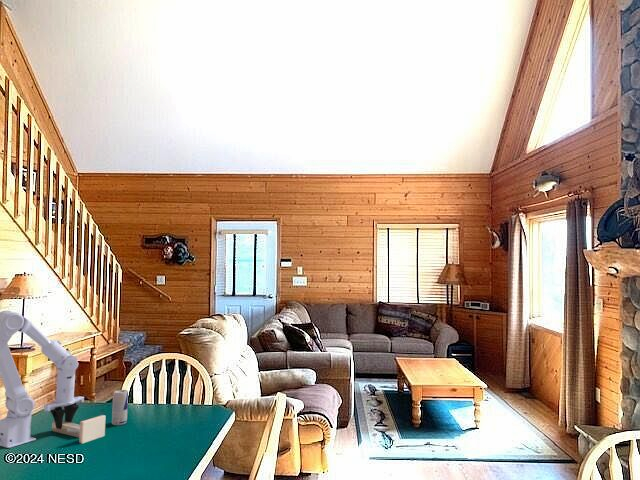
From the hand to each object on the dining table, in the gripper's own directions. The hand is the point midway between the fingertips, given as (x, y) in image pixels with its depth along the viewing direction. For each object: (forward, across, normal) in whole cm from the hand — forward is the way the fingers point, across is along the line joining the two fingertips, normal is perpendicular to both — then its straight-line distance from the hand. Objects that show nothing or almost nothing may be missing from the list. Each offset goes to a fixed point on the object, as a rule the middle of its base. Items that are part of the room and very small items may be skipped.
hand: (63, 426), depth 177 cm
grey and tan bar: (+2, 0, -3) cm, 3 cm away
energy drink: (+2, +17, -9) cm, 19 cm away
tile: (+2, 0, -15) cm, 15 cm away
